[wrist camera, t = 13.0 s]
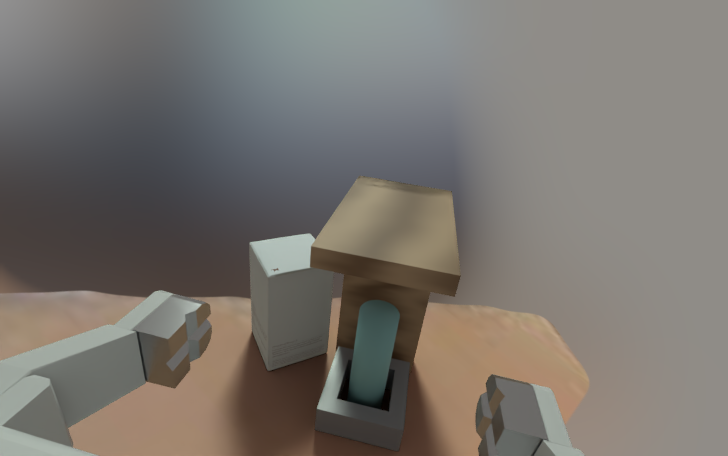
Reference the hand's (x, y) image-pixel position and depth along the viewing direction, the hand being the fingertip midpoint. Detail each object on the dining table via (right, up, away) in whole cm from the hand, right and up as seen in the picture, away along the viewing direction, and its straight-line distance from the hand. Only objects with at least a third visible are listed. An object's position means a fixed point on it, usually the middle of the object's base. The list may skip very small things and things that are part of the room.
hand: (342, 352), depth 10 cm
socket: (+1, -15, +27) cm, 30 cm away
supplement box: (-9, -10, +33) cm, 36 cm away
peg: (+1, -15, +27) cm, 30 cm away
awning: (+1, -15, +27) cm, 30 cm away
